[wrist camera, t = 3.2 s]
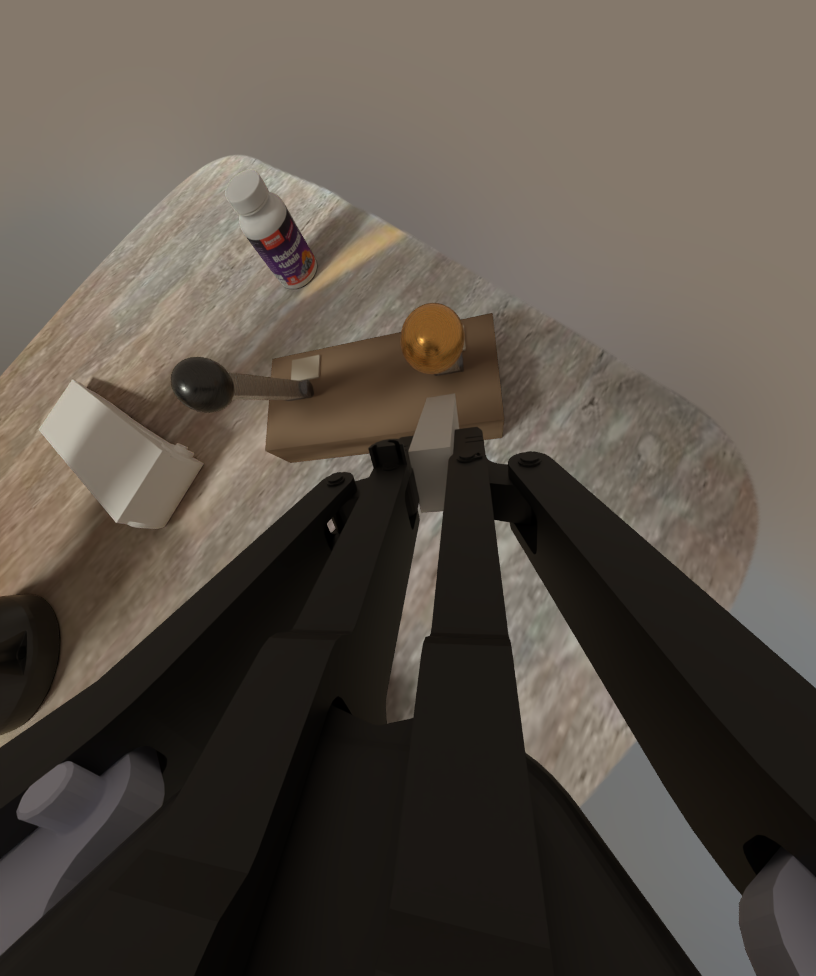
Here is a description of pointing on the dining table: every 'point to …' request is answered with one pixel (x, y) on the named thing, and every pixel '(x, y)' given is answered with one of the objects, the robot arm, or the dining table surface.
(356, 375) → the switch box
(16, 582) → the dining table surface
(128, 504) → the wall bracket
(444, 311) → the orange knob lever
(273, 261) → the pill bottle
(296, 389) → the black knob lever
